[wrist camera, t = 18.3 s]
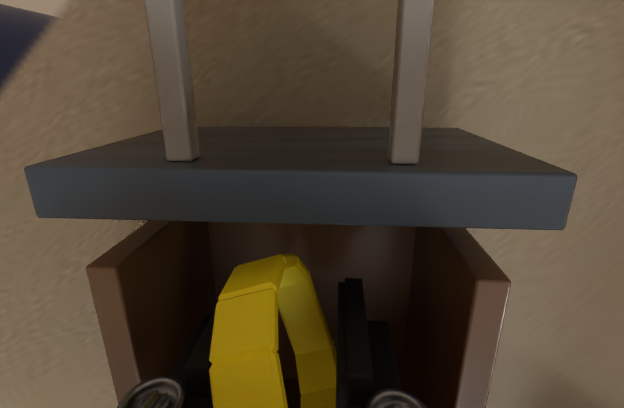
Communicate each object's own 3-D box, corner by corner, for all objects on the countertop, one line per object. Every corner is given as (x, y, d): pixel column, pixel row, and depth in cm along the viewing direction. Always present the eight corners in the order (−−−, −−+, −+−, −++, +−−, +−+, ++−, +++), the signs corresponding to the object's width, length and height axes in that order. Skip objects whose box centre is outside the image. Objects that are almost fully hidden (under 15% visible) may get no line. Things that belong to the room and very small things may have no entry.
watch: (365, 368, 13) (388, 601, 7) (292, 382, 13) (257, 612, 7) (313, 216, 11) (287, 365, 5) (230, 239, 11) (123, 399, 6)
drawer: (154, -11, 13) (-59, -118, 6) (477, -19, 12) (662, -153, 5) (204, 368, 19) (124, 537, 12) (425, 380, 18) (480, 569, 11)
